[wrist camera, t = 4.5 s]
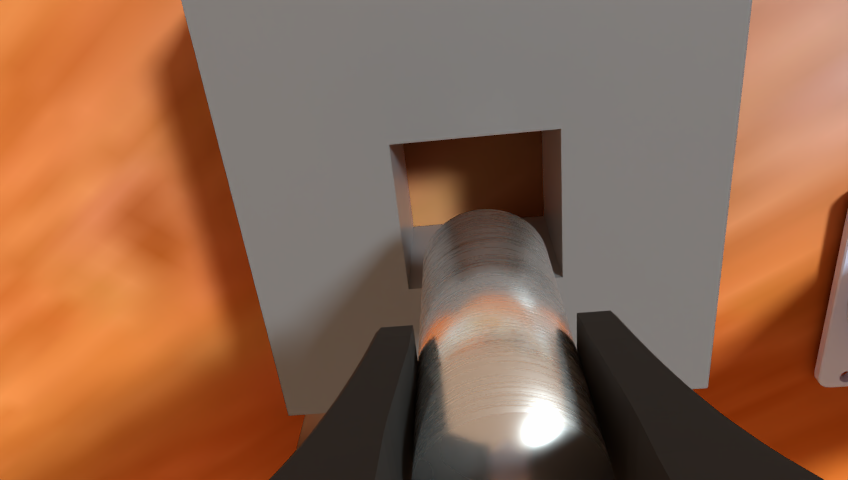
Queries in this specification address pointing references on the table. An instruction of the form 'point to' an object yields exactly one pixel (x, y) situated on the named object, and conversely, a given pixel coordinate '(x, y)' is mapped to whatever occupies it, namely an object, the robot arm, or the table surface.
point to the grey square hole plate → (471, 117)
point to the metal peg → (499, 361)
